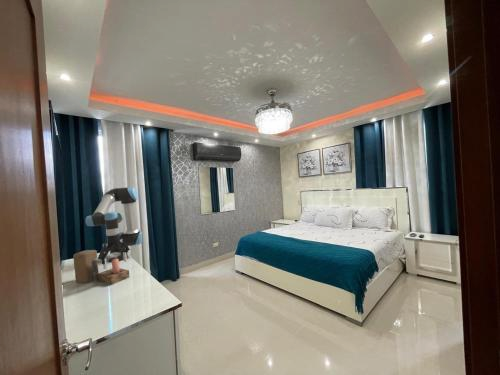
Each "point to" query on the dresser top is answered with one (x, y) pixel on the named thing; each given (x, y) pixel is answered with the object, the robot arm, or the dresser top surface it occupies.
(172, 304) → the dresser top surface
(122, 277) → the socket station
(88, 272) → the wooden block
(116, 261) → the peg
